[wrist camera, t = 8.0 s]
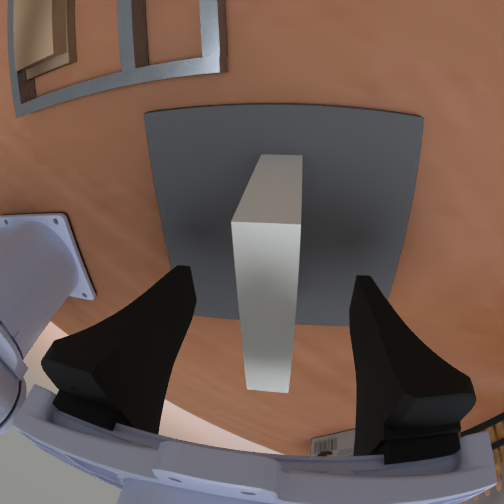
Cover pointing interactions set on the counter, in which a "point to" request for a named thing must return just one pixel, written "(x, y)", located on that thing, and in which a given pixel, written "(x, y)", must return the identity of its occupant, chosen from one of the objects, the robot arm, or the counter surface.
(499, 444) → the ammunition clip
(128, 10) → the rack
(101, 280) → the counter surface
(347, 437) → the coffee box
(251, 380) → the gray rectangular block
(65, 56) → the offcut stack
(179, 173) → the mat
